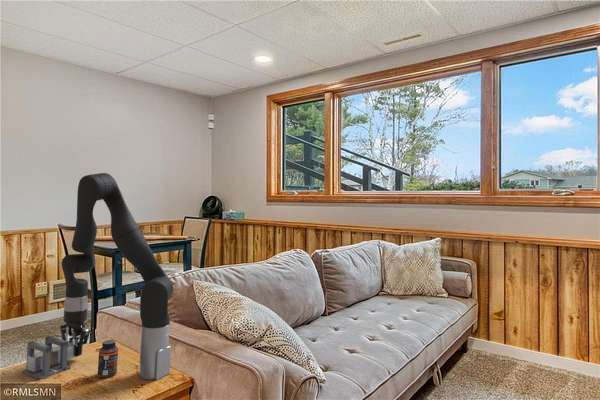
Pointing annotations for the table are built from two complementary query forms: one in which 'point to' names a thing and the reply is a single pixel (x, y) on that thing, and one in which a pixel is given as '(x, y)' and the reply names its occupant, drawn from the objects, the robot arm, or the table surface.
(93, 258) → the robot arm
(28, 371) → the collar stand
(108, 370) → the supplement bottle
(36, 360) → the grey rectangular bar
